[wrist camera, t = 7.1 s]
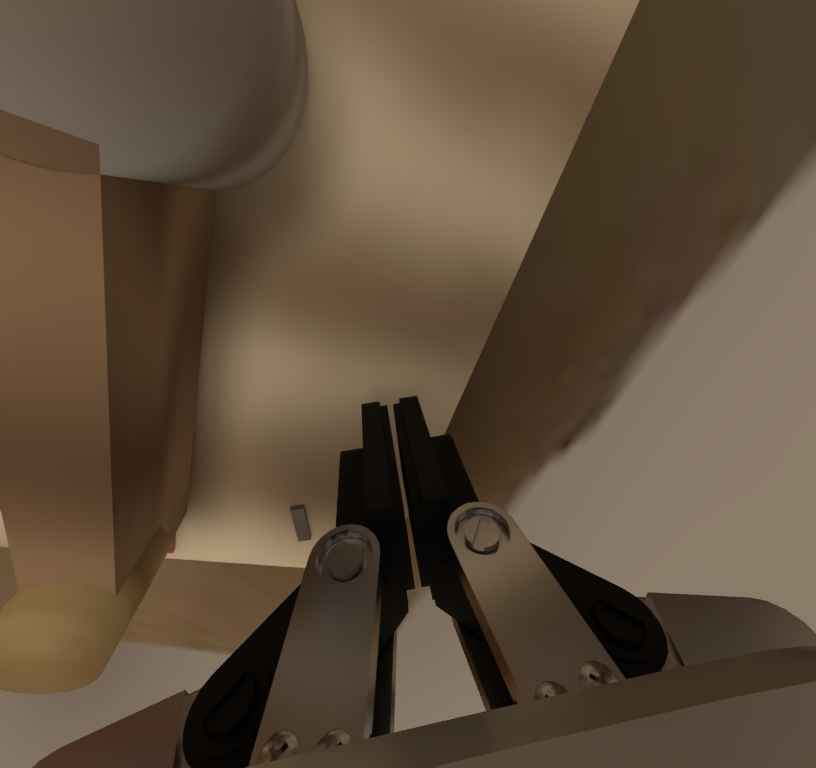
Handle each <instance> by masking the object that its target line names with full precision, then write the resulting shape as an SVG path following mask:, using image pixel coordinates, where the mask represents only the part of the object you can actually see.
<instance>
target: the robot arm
mask: <svg viewBox="0 0 816 768" xmlns="http://www.w3.org/2000/svg"><path fill="white" fill-rule="evenodd" d="M361 409H362V438H363V448H358V449H352V450H346V451H341V452H340V462H339V479H338V496H337V512H336V528H334V529H332V530H330V531H328V532H327V533H326V534H325V535H323V536H322V537H321V538H320V539H319V540H318V541H317V543H316V544H315V545H314V546H313V548H312V551H311V553H310V555H309V558H308V561H307V564H306V568H305V571H304V575H303V578H302V582H301V584H300V585H299V586H298V587H297V588H296V589H295V590H294V591H293V592H292V593H291V594H290V596H289V597H288V598H287V599H286V600H285V601H284V602H283V603H282V604H281V605H280V606H279V607H278V608H277V609H276V610H275V611H274V612H273V613H272V614H271V615H270V616H269V617H268V618H267V619H266V620H265V621H264V622H263V623H262V624H261V625H260V626H259V627H258V628H257V629H256V630H255V631H254V632H253V634H252V635H251V636H250V637H249V638H248V639H247V640H246V641H245V642H244V643H243V644H242V645H241V646H240V647H239V648H238V649H237V650H236V651H235V652H234V653H233V654H232V655H231V656H230V657H229V658H228V659H227V660H226V661H225V663H223V664H222V665H221V666H220V667H219V668H218V669H217V670H216V672H215V673H214V674H213V675H212V676H211V677H210V678H209V680H208V681H207V682H206V683H205V684H204V686H203V687H202V688H201V689H199V690H197V691H194V692H192V693H190V694H188V693H187V691H186V690H184V691H181V692H179V693H177V694H175V695H173V696H171V697H169V698H166V699H164V700H162V701H160V702H158V703H156V704H153V705H151V706H149V707H147V708H145V709H143V710H141V711H138V712H136V713H134V714H132V715H130V716H128V717H125V718H123V719H121V720H119V721H117V722H115V723H113V724H111V725H108V726H106V727H104V728H102V729H100V730H97V731H95V732H93V733H91V734H89V735H87V736H85V737H83V738H80V739H78V740H76V741H74V742H72V743H69V744H67V745H65V746H63V747H61V748H59V749H58V750H56V751H54V752H53V753H51V754H49V755H48V756H47V757H45V758H43V759H42V760H40V761H39V762H38V763H37V764H36V765H35V766H33V767H32V768H816V633H815V632H814V631H812V630H811V628H809V627H808V626H807V625H806V624H805V623H804V622H803V621H802V620H800V619H799V618H797V617H796V616H794V615H793V614H791V613H790V612H788V611H787V610H785V609H783V608H781V607H779V606H777V605H774V604H772V603H770V602H768V601H764V600H759V599H754V598H747V597H727V596H708V595H707V596H706V595H688V594H668V593H648V594H647V596H646V597H635V596H634V595H633V594H631V593H629V592H628V591H626V590H625V589H623V588H621V587H619V586H617V585H615V584H613V583H610V582H609V581H607V580H605V579H603V578H601V577H598V576H596V575H594V574H592V573H590V572H588V571H586V570H584V569H582V568H580V567H578V566H576V565H574V564H572V563H570V562H568V561H566V560H564V559H562V558H560V557H558V556H556V555H554V554H552V553H550V552H548V551H546V550H544V549H542V548H540V547H538V546H536V545H534V544H532V543H530V542H529V541H528V540H527V538H526V537H525V535H524V534H523V532H522V531H521V530H520V528H519V527H518V525H517V524H516V523H515V521H514V520H513V518H512V517H511V516H510V515H509V514H508V513H507V512H506V511H504V510H503V509H501V508H500V507H498V506H496V505H493V504H490V503H487V502H479V501H478V499H477V496H476V494H475V492H474V489H473V487H472V485H471V482H470V480H469V477H468V475H467V473H466V470H465V468H464V465H463V463H462V461H461V458H460V456H459V454H458V451H457V449H456V446H455V444H454V442H453V439H452V437H451V435H450V434H446V435H439V436H433V437H430V434H429V431H428V428H427V425H426V422H425V418H424V415H423V412H422V409H421V406H420V403H419V400H418V397H417V396H411V397H405V398H399V403H397V404H393V410H394V418H395V425H396V433H397V440H398V448H399V456H400V463H401V471H402V478H403V484H404V489H405V495H406V501H407V506H408V512H409V518H410V524H411V529H412V535H413V541H414V546H415V552H416V558H417V563H418V569H419V575H420V580H421V586H422V587H425V586H430V589H431V594H432V599H433V600H434V599H435V603H436V606H437V607H439V608H440V609H441V610H443V611H444V612H446V613H448V614H449V615H450V616H451V617H452V620H453V625H454V628H455V630H456V632H457V635H458V638H459V641H460V643H461V646H462V649H463V651H464V654H465V657H466V659H467V662H468V664H469V667H470V670H471V672H472V675H473V678H474V680H475V683H476V685H477V688H478V691H479V693H480V696H481V698H482V701H483V704H484V707H485V709H486V712H481V713H476V714H472V715H468V716H463V717H459V718H455V719H450V720H446V721H442V722H437V723H434V724H429V725H425V726H420V727H416V728H412V729H407V730H403V731H399V732H394V717H395V714H394V713H395V686H396V685H395V684H396V653H397V631H396V629H397V628H398V626H399V625H400V623H401V622H402V620H403V619H404V617H405V616H406V614H407V613H408V599H407V592H406V590H410V589H415V586H414V579H413V571H412V564H411V557H410V549H409V542H408V535H407V528H406V520H405V513H404V506H403V500H402V493H401V487H400V481H399V475H398V469H397V462H396V456H395V450H394V444H393V438H392V432H391V426H390V420H389V413H388V407H387V405H383V406H380V402H379V401H378V402H371V403H365V404H361Z"/></svg>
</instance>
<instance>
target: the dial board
mask: <svg viewBox="0 0 816 768" xmlns="http://www.w3.org/2000/svg"><path fill="white" fill-rule="evenodd" d="M296 3H297V7H298V10H299V14H300V18H301V22H302V27H303V32H304V37H305V42H306V51H307V62H308V85H307V94H306V103H305V107H304V111H303V116H302V120H301V123H300V125H299V128H298V131H297V133H296V136H295V138H294V139H293V141H292V143H291V145H290V147H289V149H288V150H287V151H286V153H285V154H284V155H283V157H282V158H281V160H280V161H279V162H278V163H277V164H276V165H275V166H274V167H273V168H272V169H271V170H270V171H268V172H267V173H265V174H264V175H262V176H261V177H260V178H258V179H256V180H254V181H252V182H250V183H248V184H246V185H242V186H239V187H236V188H232V189H225V190H215V198H214V209H213V220H212V231H211V243H210V254H209V265H208V277H207V288H206V299H205V311H204V322H203V333H202V345H201V356H200V367H199V379H198V390H197V401H196V413H195V424H194V435H193V447H192V458H191V469H190V481H189V492H188V503H187V513H186V515H185V517H184V519H183V521H182V523H181V524H180V526H179V528H178V530H177V532H176V533H175V535H174V537H173V539H172V541H171V542H170V549H169V551H168V553H167V555H166V557H165V558H171V559H185V560H200V561H214V562H228V563H242V564H256V565H270V566H285V567H299V568H306V564H307V561H308V558H309V555H310V553H311V551H312V548H313V546H314V545H315V544H316V543H317V541H318V540H319V539H320V538H321V537H322V536H323V535H325V534H326V533H327V532H328V531H330V530H332V529H334V528H336V512H337V496H338V479H339V462H340V452H341V451H346V450H352V449H358V448H363V438H362V409H361V404H365V403H371V402H378V401H379V402H380V406H383V405H387V407H388V413H389V420H390V426H391V432H392V438H393V444H394V450H395V456H396V462H397V469H398V475H399V481H400V487H401V493H402V500H403V506H404V513H405V520H406V519H407V516H408V514H409V512H408V506H407V501H406V495H405V489H404V484H403V478H402V471H401V463H400V456H399V448H398V440H397V433H396V425H395V418H394V410H393V404H397V403H399V398H405V397H411V396H417V397H418V400H419V403H420V406H421V409H422V412H423V415H424V418H425V422H426V425H427V428H428V431H429V434H430V437H433V436H439V435H444V434H445V432H446V430H447V427H448V425H449V423H450V421H451V418H452V416H453V414H454V412H455V410H456V407H457V405H458V403H459V401H460V398H461V396H462V394H463V392H464V390H465V387H466V385H467V383H468V381H469V378H470V376H471V374H472V372H473V370H474V367H475V365H476V363H477V361H478V358H479V356H480V354H481V352H482V350H483V347H484V345H485V343H486V341H487V338H488V336H489V334H490V332H491V330H492V327H493V325H494V323H495V321H496V318H497V316H498V314H499V312H500V310H501V307H502V305H503V303H504V301H505V298H506V296H507V294H508V292H509V289H510V287H511V285H512V283H513V281H514V278H515V276H516V274H517V272H518V269H519V267H520V265H521V263H522V261H523V258H524V256H525V254H526V252H527V249H528V247H529V245H530V243H531V241H532V238H533V236H534V234H535V232H536V229H537V227H538V225H539V223H540V221H541V218H542V216H543V214H544V212H545V209H546V207H547V205H548V203H549V201H550V198H551V196H552V194H553V192H554V189H555V187H556V185H557V183H558V181H559V178H560V176H561V174H562V172H563V169H564V167H565V165H566V163H567V161H568V158H569V156H570V154H571V152H572V149H573V147H574V145H575V143H576V141H577V138H578V136H579V134H580V132H581V129H582V127H583V125H584V123H585V120H586V118H587V116H588V114H589V112H590V109H591V107H592V105H593V103H594V100H595V98H596V96H597V94H598V92H599V89H600V87H601V85H602V83H603V80H604V78H605V76H606V74H607V72H608V69H609V67H610V65H611V63H612V60H613V58H614V56H615V54H616V52H617V49H618V47H619V45H620V43H621V40H622V38H623V36H624V34H625V32H626V29H627V27H628V25H629V23H630V20H631V18H632V16H633V14H634V12H635V9H636V7H637V5H638V3H639V0H296ZM0 546H1V547H9V545H8V541H7V536H6V532H5V527H4V523H3V518H2V514H1V509H0Z"/></svg>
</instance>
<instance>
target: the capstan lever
mask: <svg viewBox="0 0 816 768" xmlns="http://www.w3.org/2000/svg"><path fill="white" fill-rule="evenodd" d="M307 85H308V62H307V51H306V42H305V37H304V32H303V27H302V22H301V18H300V14H299V10H298V7H297V3H296V0H0V509H1V514H2V518H3V523H4V527H5V532H6V536H7V541H8V545H9V549H10V554H11V558H12V563H13V567H14V572H15V576H16V580H17V585H18V589H19V590H18V591H17V592H16V593H15V594H14V595H13V597H12V598H11V599H10V600H9V601H8V602H7V603H6V604H5V606H4V607H3V608H2V609H1V610H0V689H1V690H6V691H12V692H18V693H30V694H46V693H47V694H49V693H60V692H66V691H71V690H75V689H78V688H81V687H84V686H86V685H88V684H90V683H92V682H94V681H95V680H97V679H98V678H99V677H100V676H101V674H102V672H103V671H104V669H105V667H106V665H107V663H108V662H109V660H110V658H111V656H112V654H113V652H114V650H115V649H116V647H117V645H118V643H119V641H120V639H121V638H122V636H123V634H124V632H125V630H126V628H127V627H128V625H129V623H130V621H131V619H132V617H133V616H134V614H135V612H136V610H137V608H138V606H139V604H140V603H141V601H142V599H143V597H144V595H145V593H146V592H147V590H148V588H149V586H150V584H151V582H152V581H153V579H154V577H155V575H156V573H157V571H158V569H159V568H160V566H161V564H162V562H163V560H164V558H165V557H166V555H167V553H168V551H169V549H170V542H171V541H172V539H173V537H174V535H175V533H176V532H177V530H178V528H179V526H180V524H181V523H182V521H183V519H184V517H185V515H186V513H187V503H188V492H189V481H190V469H191V458H192V447H193V435H194V424H195V413H196V401H197V390H198V379H199V367H200V356H201V345H202V333H203V322H204V311H205V299H206V288H207V277H208V265H209V254H210V243H211V231H212V220H213V209H214V198H215V190H225V189H232V188H236V187H239V186H242V185H246V184H248V183H250V182H252V181H254V180H256V179H258V178H260V177H261V176H262V175H264V174H265V173H267V172H268V171H270V170H271V169H272V168H273V167H274V166H275V165H276V164H277V163H278V162H279V161H280V160H281V158H282V157H283V155H284V154H285V153H286V151H287V150H288V149H289V147H290V145H291V143H292V141H293V139H294V138H295V136H296V133H297V131H298V128H299V125H300V123H301V120H302V116H303V111H304V107H305V103H306V94H307Z"/></svg>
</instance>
